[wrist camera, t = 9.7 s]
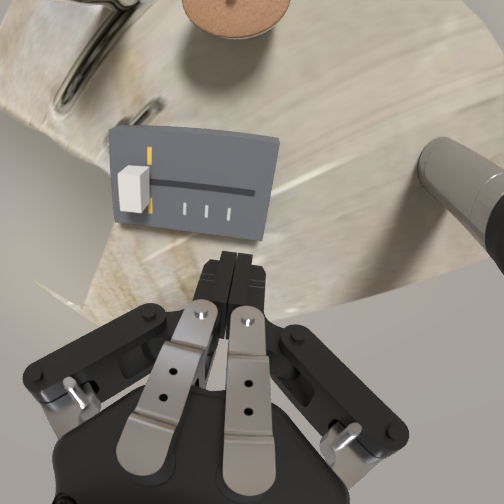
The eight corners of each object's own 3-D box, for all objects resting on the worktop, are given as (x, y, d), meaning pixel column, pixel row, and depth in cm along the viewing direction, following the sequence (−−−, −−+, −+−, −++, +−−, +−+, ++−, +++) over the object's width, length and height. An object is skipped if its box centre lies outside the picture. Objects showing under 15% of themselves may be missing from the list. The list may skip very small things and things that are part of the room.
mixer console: (278, 138, 36) (279, 143, 33) (262, 230, 44) (262, 241, 41) (118, 125, 35) (108, 130, 32) (122, 212, 43) (114, 222, 40)
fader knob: (151, 164, 35) (139, 175, 32) (151, 199, 38) (141, 213, 34) (130, 163, 35) (117, 173, 31) (132, 197, 38) (120, 210, 34)
